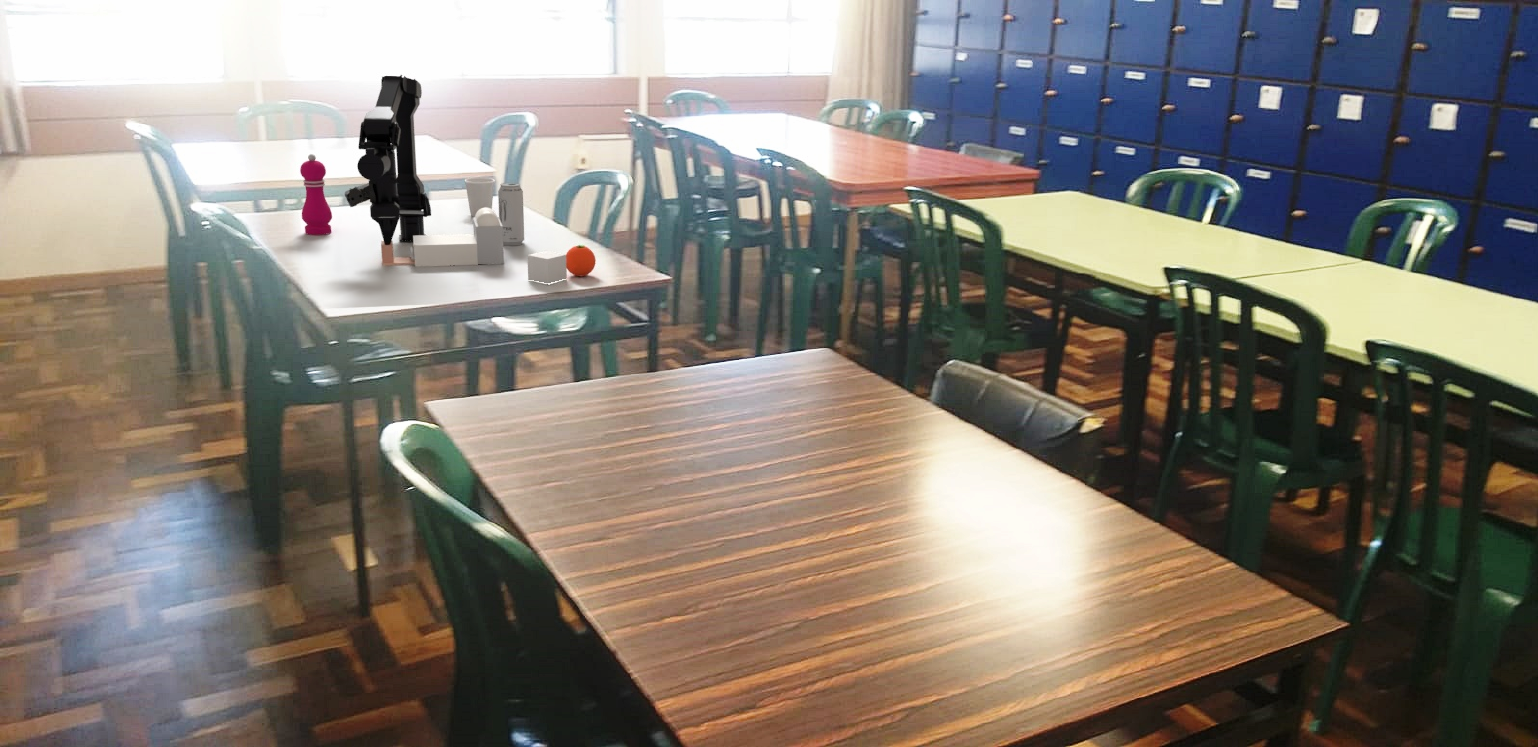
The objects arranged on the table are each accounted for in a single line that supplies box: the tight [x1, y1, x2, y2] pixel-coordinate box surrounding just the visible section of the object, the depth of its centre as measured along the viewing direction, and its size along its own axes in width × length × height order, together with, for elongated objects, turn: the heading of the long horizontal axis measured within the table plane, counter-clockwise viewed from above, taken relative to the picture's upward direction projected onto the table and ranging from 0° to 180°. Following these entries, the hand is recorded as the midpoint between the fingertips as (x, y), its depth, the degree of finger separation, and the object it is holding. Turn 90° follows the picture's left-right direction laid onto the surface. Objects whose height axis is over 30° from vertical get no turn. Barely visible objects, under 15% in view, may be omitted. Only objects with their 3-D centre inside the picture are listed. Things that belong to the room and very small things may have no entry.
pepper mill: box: [300, 153, 333, 236], centre depth 292 cm, size 7×7×20 cm
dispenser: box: [409, 207, 505, 268], centre depth 271 cm, size 11×21×12 cm, turn 107°
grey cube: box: [527, 250, 568, 283], centre depth 256 cm, size 6×6×6 cm
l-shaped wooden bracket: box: [380, 240, 415, 266], centre depth 269 cm, size 6×14×5 cm, turn 107°
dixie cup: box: [464, 177, 496, 218], centre depth 324 cm, size 8×8×10 cm
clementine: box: [565, 244, 596, 277], centre depth 262 cm, size 8×7×7 cm
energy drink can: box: [497, 182, 525, 247], centre depth 290 cm, size 6×6×15 cm
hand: (387, 240), depth 266 cm, fingers open, 9 cm apart
